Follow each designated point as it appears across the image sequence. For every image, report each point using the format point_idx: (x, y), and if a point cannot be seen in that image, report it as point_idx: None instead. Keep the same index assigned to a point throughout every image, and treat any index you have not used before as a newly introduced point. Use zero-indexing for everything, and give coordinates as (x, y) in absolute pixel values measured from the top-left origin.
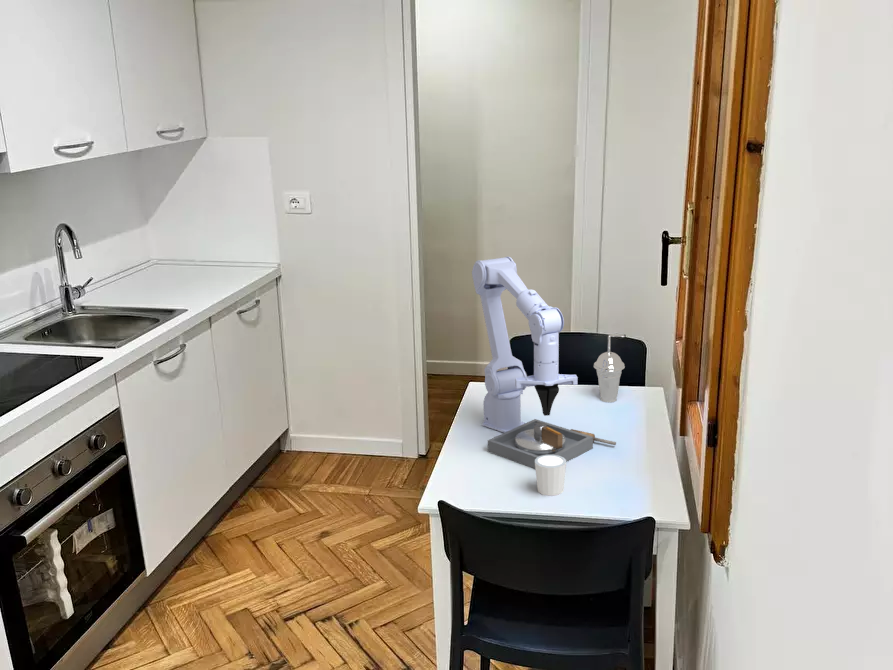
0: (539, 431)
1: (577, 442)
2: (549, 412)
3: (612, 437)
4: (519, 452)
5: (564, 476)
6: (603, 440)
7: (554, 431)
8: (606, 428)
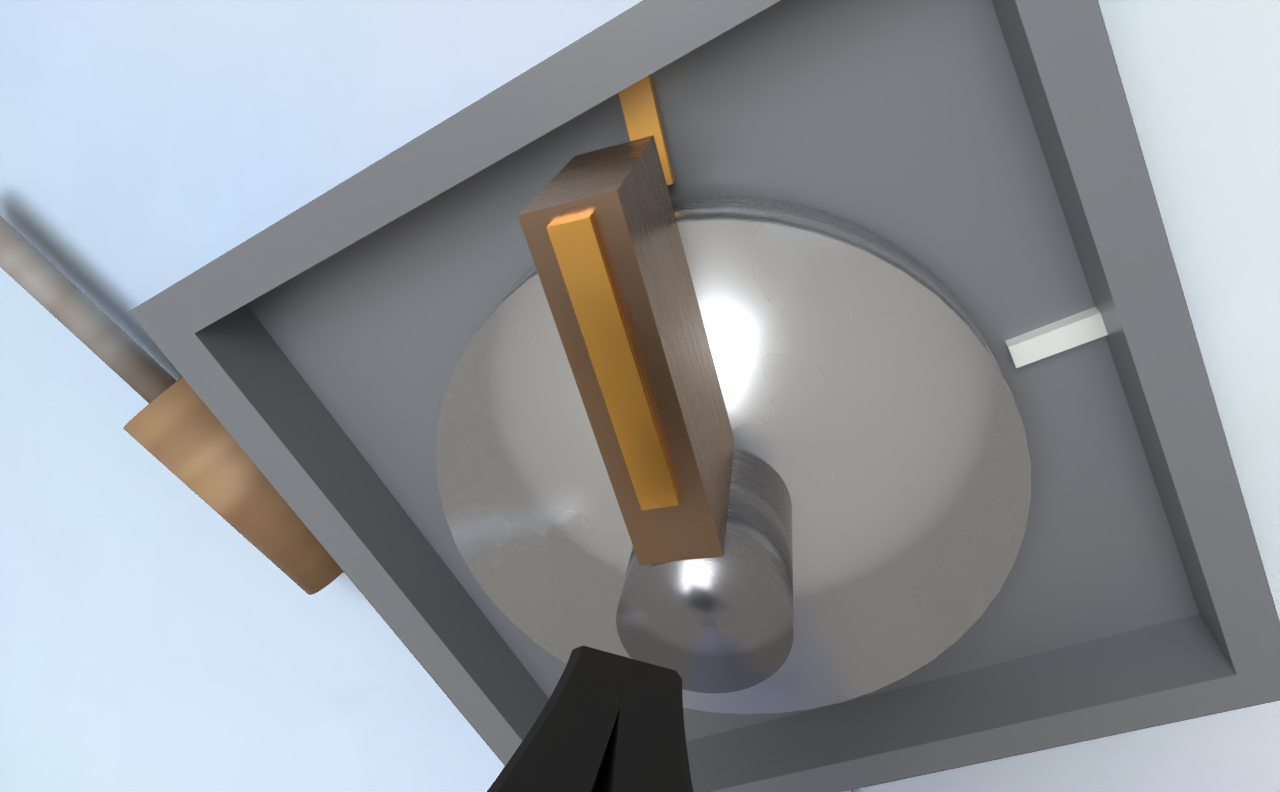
0: (753, 530)
1: (337, 238)
2: (575, 684)
3: (2, 401)
4: (1173, 277)
5: None
6: (62, 299)
7: (616, 333)
8: (35, 562)
